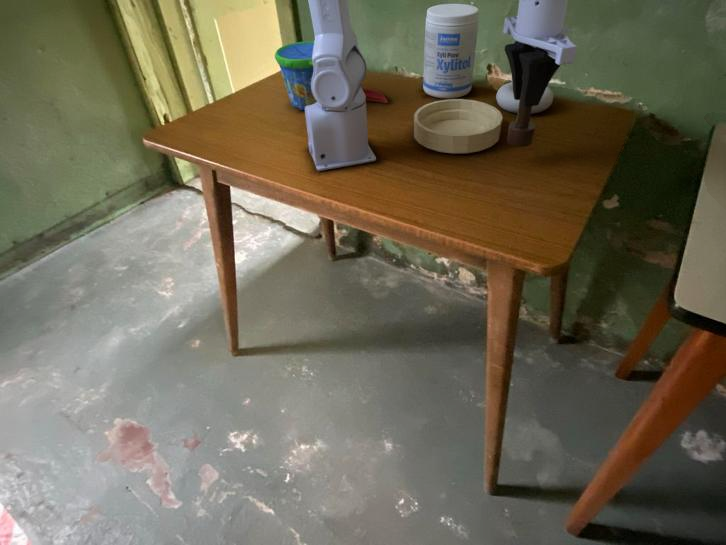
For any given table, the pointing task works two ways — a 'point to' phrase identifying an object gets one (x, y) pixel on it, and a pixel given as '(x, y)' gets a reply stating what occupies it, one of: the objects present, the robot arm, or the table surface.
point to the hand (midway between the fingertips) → (526, 101)
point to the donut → (512, 105)
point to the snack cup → (297, 72)
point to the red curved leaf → (374, 96)
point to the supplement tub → (450, 50)
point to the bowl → (457, 126)
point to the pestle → (521, 126)
